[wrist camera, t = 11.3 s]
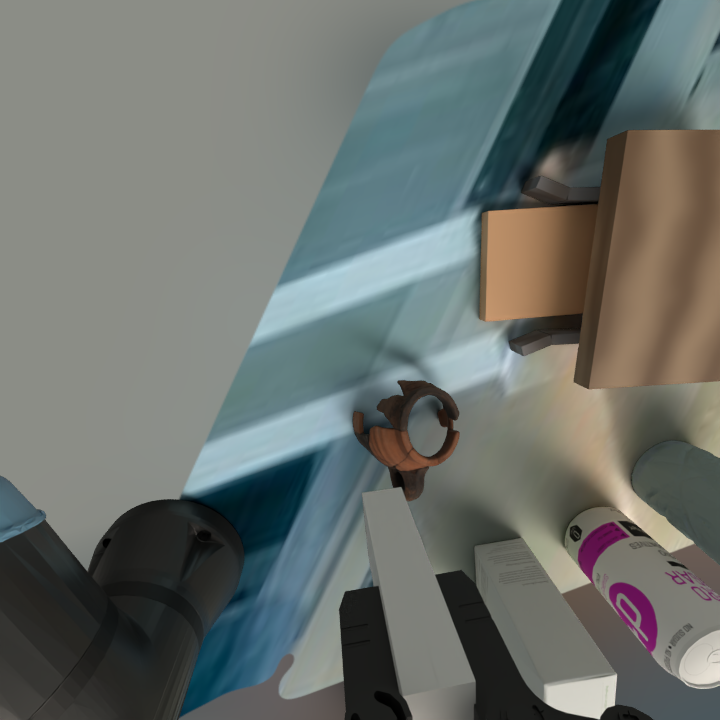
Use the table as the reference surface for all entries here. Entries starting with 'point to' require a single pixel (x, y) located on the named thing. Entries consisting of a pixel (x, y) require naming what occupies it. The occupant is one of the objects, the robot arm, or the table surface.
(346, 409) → the table surface
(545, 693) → the skincare box
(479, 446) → the table surface
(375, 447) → the broken clay pot
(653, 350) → the walnut shelf
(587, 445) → the table surface
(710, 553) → the grey cylindrical pot
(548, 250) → the terracotta panel
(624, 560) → the supplement can
